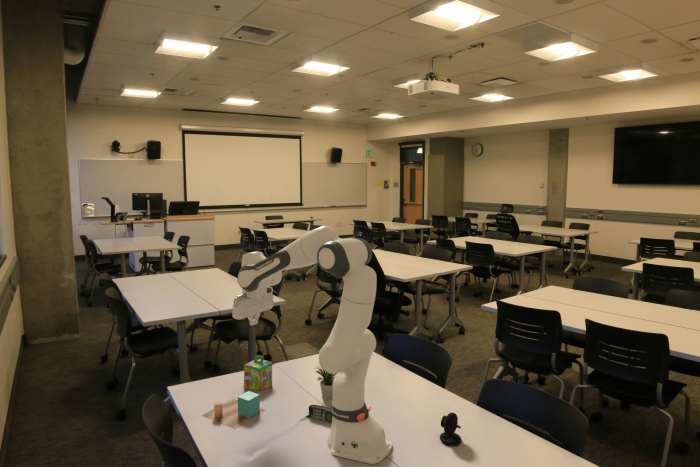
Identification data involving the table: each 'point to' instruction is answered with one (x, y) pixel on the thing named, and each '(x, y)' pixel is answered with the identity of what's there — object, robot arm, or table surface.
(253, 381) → the chalk box
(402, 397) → the table surface
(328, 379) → the house plant
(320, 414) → the mobile phone
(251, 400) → the mint green cube
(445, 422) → the webcam
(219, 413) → the terracotta peg
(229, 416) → the walnut board
